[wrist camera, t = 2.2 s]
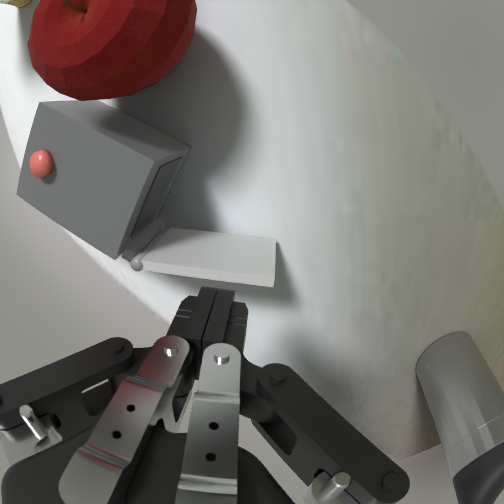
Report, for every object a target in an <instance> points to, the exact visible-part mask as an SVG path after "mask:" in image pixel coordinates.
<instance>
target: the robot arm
mask: <svg viewBox="0 0 504 504" xmlns="http://www.w3.org/2000/svg"><path fill="white" fill-rule="evenodd" d="M234 297H235V291H234V290H227V289H218V288H211V287H203V286H202V287H201V289H200V292H199V294H198V296H197V297H196V296H188V297H187V298H185V299H184V300H183V301H182V302H181V304H180V306H179V308H178V310H177V313H176V316H175V317H174V319H173V321H172V323H171V326H170V328H169V330H168V332H167V335H166V336H164V337H162V338H160V339H158V340H157V341H156V342H155V343H154V345H153V346H152V347H148V348H133V346H132V344H131V342H130V341H128V340H127V339H125V338H120V337H115V338H110V339H107V340H105V341H103V342H100V343H98V344H96V345H94V346H91V347H89V348H86V349H84V350H82V351H79V352H77V353H75V354H72V355H70V356H68V357H65V358H63V359H61V360H58V361H56V362H54V363H51V364H49V365H47V366H44V367H42V368H39V369H37V370H34V371H32V372H30V373H27V374H25V375H23V376H20V377H17V378H15V379H13V380H10V381H8V382H5V383H3V384H0V438H1V441H2V444H3V447H4V450H5V453H6V456H7V458H8V461H9V463H10V466H11V467H10V468H9V469H8V470H7V471H6V473H5V475H4V477H3V479H2V484H1V493H2V504H295V503H294V502H293V501H292V500H291V498H290V497H289V496H288V495H287V494H286V492H285V491H284V490H283V489H282V487H281V486H280V485H279V484H278V483H277V481H276V480H275V479H274V478H273V476H272V475H271V474H270V473H269V471H268V470H267V469H266V467H265V466H264V465H263V464H262V463H261V462H260V461H259V460H258V459H257V458H256V457H255V456H254V455H253V454H251V453H250V452H248V451H247V450H245V449H243V448H241V447H239V446H238V437H239V434H238V433H239V414H241V415H243V416H246V417H248V418H250V419H251V421H252V424H253V425H254V426H255V428H256V429H257V430H258V431H259V432H260V433H261V435H262V436H263V437H264V438H265V439H266V441H267V442H268V443H269V444H270V445H271V446H272V448H273V449H274V450H275V451H276V452H277V453H278V455H279V456H280V457H281V458H282V459H283V460H284V461H285V462H286V464H287V465H288V466H289V467H290V468H291V469H292V470H293V471H294V472H295V473H296V474H297V475H298V477H299V478H300V479H301V480H302V481H303V482H304V483H305V484H306V485H307V486H308V488H307V490H306V491H305V494H304V503H305V504H395V503H396V502H398V501H399V500H401V499H402V498H403V497H404V496H405V495H406V494H407V492H408V490H409V487H410V481H409V477H408V475H407V474H406V472H405V471H404V470H403V469H402V468H400V467H399V466H398V465H397V464H396V463H394V462H393V461H392V460H391V459H390V458H388V457H387V456H386V455H385V454H384V453H383V452H381V451H380V450H379V449H378V448H377V447H376V446H375V445H373V444H372V443H371V442H370V441H369V440H368V439H367V438H365V437H364V436H363V435H362V434H361V433H360V432H359V431H358V430H356V429H355V428H354V427H353V426H352V425H351V424H350V423H349V422H348V421H346V420H345V419H344V418H343V417H342V416H341V415H340V414H339V413H338V412H337V411H336V410H334V409H333V408H332V407H331V406H330V405H329V404H328V403H327V402H326V401H325V400H324V399H323V398H322V397H321V396H319V395H318V394H317V393H316V392H315V391H314V390H313V389H312V388H311V387H310V386H309V385H308V384H307V383H306V382H305V381H304V380H303V379H302V378H301V377H300V376H299V375H298V374H297V373H295V372H294V371H293V370H292V369H291V368H290V367H288V366H286V365H283V364H278V363H273V364H268V365H266V366H264V367H262V368H261V367H259V366H256V365H254V364H252V363H250V362H249V361H248V360H247V359H246V358H245V357H244V355H243V350H244V343H245V336H246V327H247V318H248V309H247V307H246V305H245V303H242V302H234ZM416 374H417V376H418V379H419V381H420V384H421V387H422V389H423V392H424V395H425V398H426V400H427V403H428V406H429V408H430V411H431V414H432V417H433V420H434V423H435V425H436V428H437V431H438V434H439V437H440V441H441V444H442V447H443V450H444V453H445V456H446V459H447V463H448V466H449V470H450V473H451V477H452V480H453V484H454V488H455V491H456V495H457V499H458V503H459V504H493V503H494V502H495V500H496V498H497V497H498V496H499V494H500V493H501V491H502V490H503V489H504V391H503V390H502V388H501V386H500V384H499V382H498V381H497V379H496V377H495V375H494V374H493V372H492V370H491V368H490V367H489V365H488V363H487V362H486V360H485V359H484V357H483V355H482V353H481V352H480V350H479V349H478V347H477V346H476V344H475V342H474V341H473V339H472V338H471V336H470V335H468V334H466V333H463V332H457V333H452V334H449V335H446V336H444V337H442V338H440V339H439V340H437V341H436V342H434V343H433V344H432V345H431V346H430V347H428V348H427V349H426V351H425V352H424V353H423V354H422V356H421V357H420V359H419V361H418V363H417V366H416ZM106 379H108V382H105V383H103V384H101V385H99V386H97V387H95V388H93V389H91V390H89V391H86V392H84V393H81V392H82V391H83V390H85V389H87V388H89V387H91V386H93V385H95V384H98V383H99V382H102V381H104V380H106ZM195 379H196V380H199V381H198V388H197V392H195V394H194V397H193V402H192V408H191V414H190V420H189V426H188V432H187V433H178V430H179V426H180V424H181V421H182V418H183V415H184V413H185V411H186V408H187V406H188V403H189V400H190V398H191V395H192V387H193V384H194V381H195ZM64 439H65V440H64ZM62 440H63V441H62Z"/></svg>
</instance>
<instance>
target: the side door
mask: <svg viewBox="0 0 504 504" xmlns="http://www.w3.org/2000/svg"><path fill="white" fill-rule="evenodd" d="M275 256H276V239H274V238H265V237H256V236H247V235H239V234H230V233H221V232H211V231H202V230H193V229H183V228H174V227H170V226H168V225H166V226H164V227H163V228H162V229H161V230H160V231H159V232H158V233H157V234H156V235H155V236H154V237H153V238H152V239H151V240H150V241H149V242H148V243H147V244H146V246H145V247H144V248H143V249H142V250H141V251H140V252H139V253H138V254H137V255H136V256H135V257H134V258H133V260H132V261H131V263H130V265H131V267H132V269H133V270H135V271H140V270H141V269H142V270H145V271H152V272H159V273H166V274H173V275H180V276H188V277H195V278H203V279H210V280H218V281H226V282H234V283H242V284H250V285H259V286H267V287H273V286H274V279H275Z"/></svg>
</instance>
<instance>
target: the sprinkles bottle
mask: <svg viewBox="0 0 504 504" xmlns="http://www.w3.org/2000/svg"><path fill="white" fill-rule="evenodd" d="M30 1H31V0H0V3H1V4H9V5H14V6H16V7H23V6H25V5H26V4H28V3H29V2H30Z"/></svg>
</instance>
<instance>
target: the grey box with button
mask: <svg viewBox="0 0 504 504" xmlns="http://www.w3.org/2000/svg"><path fill="white" fill-rule="evenodd" d="M190 149H191V147H190V146H189V145H187V144H185V143H183V142H181V141H179V140H177V139H175V138H173V137H171V136H170V135H168V134H166V133H164V132H162V131H160V130H158V129H156V128H154V127H152V126H150V125H148V124H146V123H144V122H142V121H140V120H138V119H136V118H134V117H132V116H130V115H127V114H125V113H123V112H121V111H119V110H117V109H115V108H113V107H111V106H108V105H106V104H104V103H102V102H100V101H98V100H89V101H80V100H77V101H51V102H39V105H38V108H37V111H36V114H35V118H34V121H33V124H32V128H31V131H30V135H29V139H28V142H27V146H26V150H25V155H24V159H23V164H22V168H21V173H20V178H19V184H18V189H17V195H18V196H19V197H21V198H22V199H24V200H25V201H26V202H28V203H29V204H31V205H32V206H33V207H35V208H36V209H38V210H39V211H40V212H42V213H43V214H45V215H46V216H48V217H49V218H51V219H52V220H53V221H55V222H56V223H58V224H59V225H61V226H62V227H64V228H65V229H67V230H68V231H70V232H71V233H73V234H74V235H76V236H78V237H79V238H81V239H82V240H84V241H85V242H87V243H88V244H90V245H92V246H93V247H95V248H96V249H98V250H100V251H101V252H103V253H104V254H106V255H108V256H109V257H111V258H112V259H114V260H116V259H117V258H118V257H119V256H120V255H121V254H122V253H123V254H122V258H124V259H126V260H127V261H129V262H131V261H132V260H133V258H134V257H135V256H136V255H137V254H138V253H139V252H140V251H141V250H142V249H143V248H144V247H145V246H146V244H147V243H148V242H149V241H150V240H151V239H152V238H153V237H154V236H155V235H156V234H157V233H158V232H159V230H160V228H161V225H160V224H159V223H157V222H155V221H156V219H157V217H158V215H159V213H160V211H161V208H162V206H163V204H164V202H165V200H166V198H167V195H168V193H169V191H170V189H171V187H172V185H173V183H174V181H175V179H176V177H177V175H178V173H179V171H180V169H181V167H182V165H183V163H184V161H185V159H186V157H187V155H188V153H189V151H190Z"/></svg>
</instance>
